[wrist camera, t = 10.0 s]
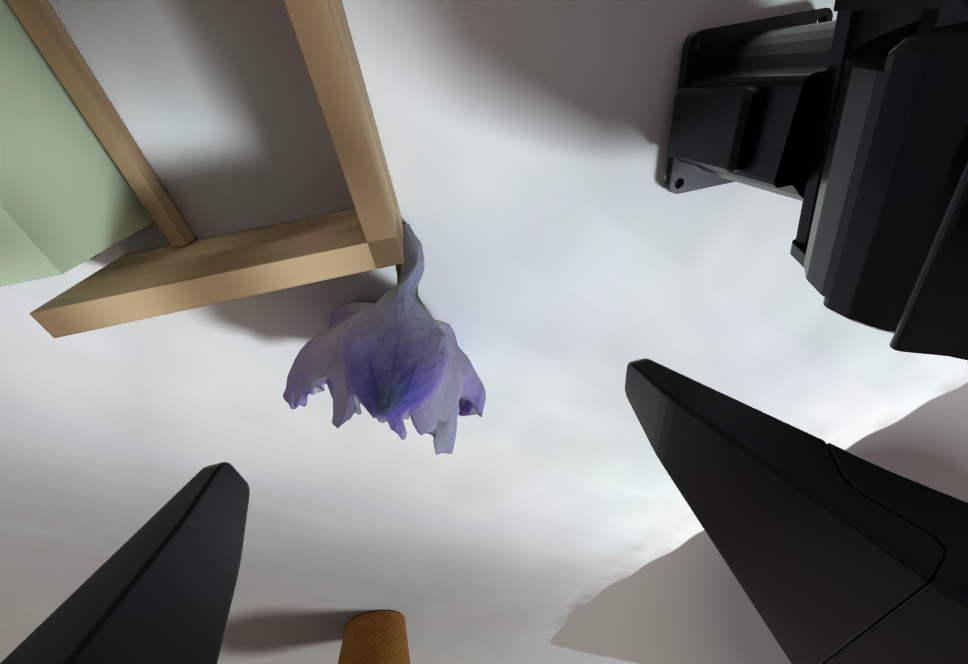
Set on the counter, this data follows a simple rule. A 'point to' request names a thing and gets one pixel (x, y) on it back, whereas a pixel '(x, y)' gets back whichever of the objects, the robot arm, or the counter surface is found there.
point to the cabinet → (242, 255)
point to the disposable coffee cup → (375, 639)
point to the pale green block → (52, 170)
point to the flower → (391, 362)
